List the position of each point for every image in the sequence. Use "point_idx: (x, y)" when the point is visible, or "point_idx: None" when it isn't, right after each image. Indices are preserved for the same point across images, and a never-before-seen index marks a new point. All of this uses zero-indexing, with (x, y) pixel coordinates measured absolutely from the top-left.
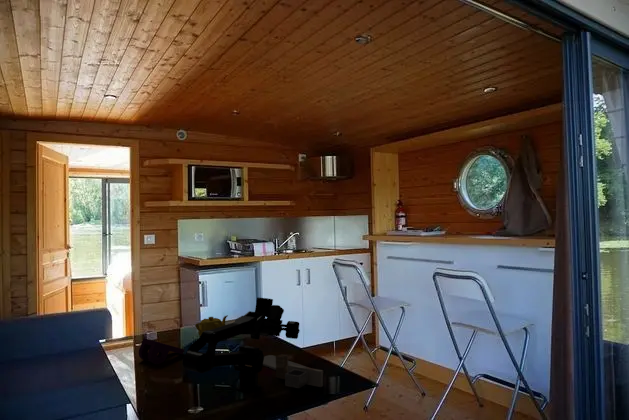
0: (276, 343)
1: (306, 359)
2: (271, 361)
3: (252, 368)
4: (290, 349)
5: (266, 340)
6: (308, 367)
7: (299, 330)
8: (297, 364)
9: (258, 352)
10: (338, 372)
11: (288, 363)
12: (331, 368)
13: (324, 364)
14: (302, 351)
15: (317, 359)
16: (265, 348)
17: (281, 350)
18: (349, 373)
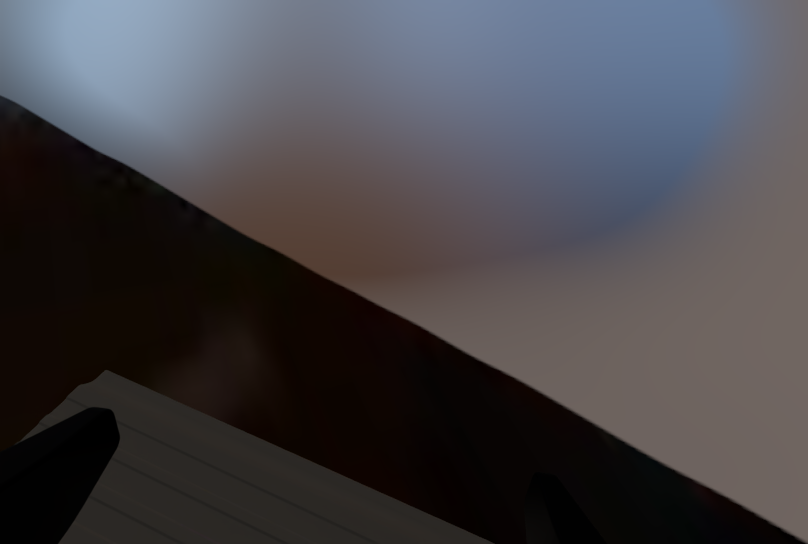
0: (106, 195)
1: (366, 367)
2: (110, 533)
3: None
4: (211, 250)
5: (37, 170)
6: (467, 533)
7: (553, 484)
8: (372, 528)
9: None
10: (692, 535)
11: (287, 531)
12: (599, 472)
13: (514, 416)
14: (291, 263)
15: (428, 349)
16: (35, 263)
17: (156, 272)
18: (757, 525)
